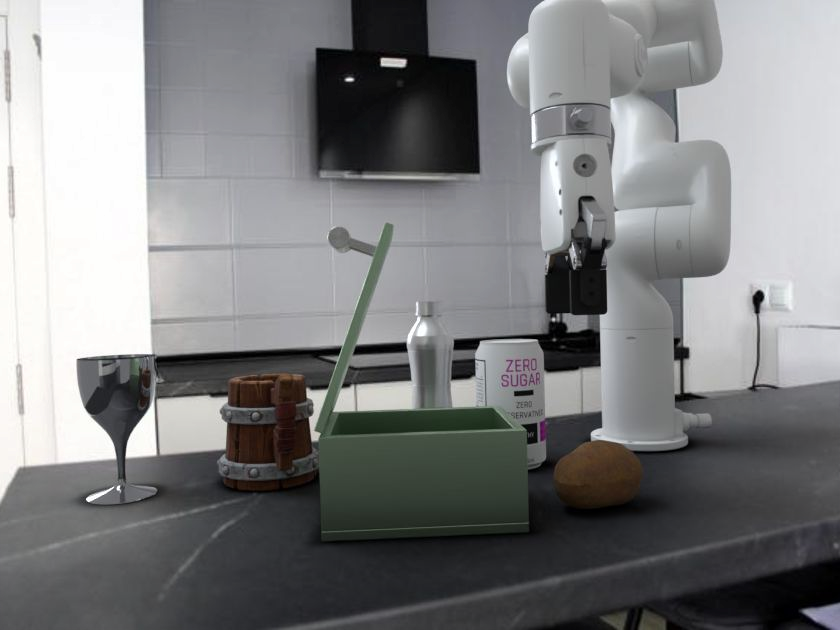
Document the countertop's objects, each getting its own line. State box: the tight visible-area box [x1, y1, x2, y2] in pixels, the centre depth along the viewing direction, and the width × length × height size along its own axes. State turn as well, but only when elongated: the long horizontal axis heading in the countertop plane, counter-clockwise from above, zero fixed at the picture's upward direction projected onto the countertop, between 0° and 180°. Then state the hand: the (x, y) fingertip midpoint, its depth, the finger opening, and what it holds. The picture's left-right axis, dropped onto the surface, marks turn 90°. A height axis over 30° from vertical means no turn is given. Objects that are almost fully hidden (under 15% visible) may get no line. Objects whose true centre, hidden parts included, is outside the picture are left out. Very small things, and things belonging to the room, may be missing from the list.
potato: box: [553, 440, 644, 510], centre depth 68 cm, size 7×10×6 cm
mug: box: [216, 373, 319, 492], centre depth 80 cm, size 12×14×15 cm
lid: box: [313, 221, 395, 434], centre depth 66 cm, size 19×14×5 cm
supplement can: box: [474, 338, 547, 470], centre depth 85 cm, size 8×8×15 cm
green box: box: [317, 406, 530, 543], centre depth 67 cm, size 18×14×9 cm
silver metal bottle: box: [406, 300, 455, 409], centre depth 94 cm, size 6×7×20 cm
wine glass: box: [75, 353, 158, 506], centre depth 76 cm, size 8×8×15 cm
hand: (574, 314), depth 67 cm, fingers open, 9 cm apart
